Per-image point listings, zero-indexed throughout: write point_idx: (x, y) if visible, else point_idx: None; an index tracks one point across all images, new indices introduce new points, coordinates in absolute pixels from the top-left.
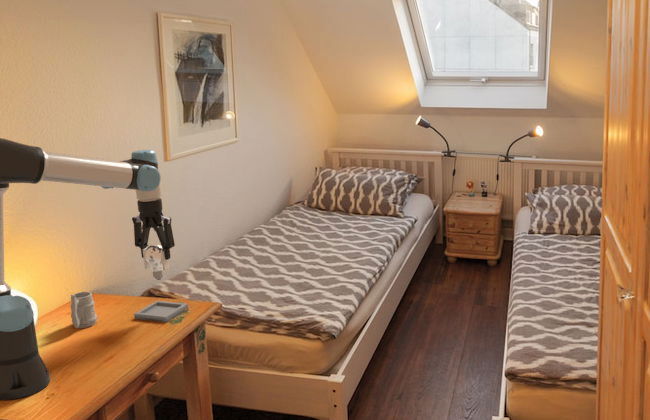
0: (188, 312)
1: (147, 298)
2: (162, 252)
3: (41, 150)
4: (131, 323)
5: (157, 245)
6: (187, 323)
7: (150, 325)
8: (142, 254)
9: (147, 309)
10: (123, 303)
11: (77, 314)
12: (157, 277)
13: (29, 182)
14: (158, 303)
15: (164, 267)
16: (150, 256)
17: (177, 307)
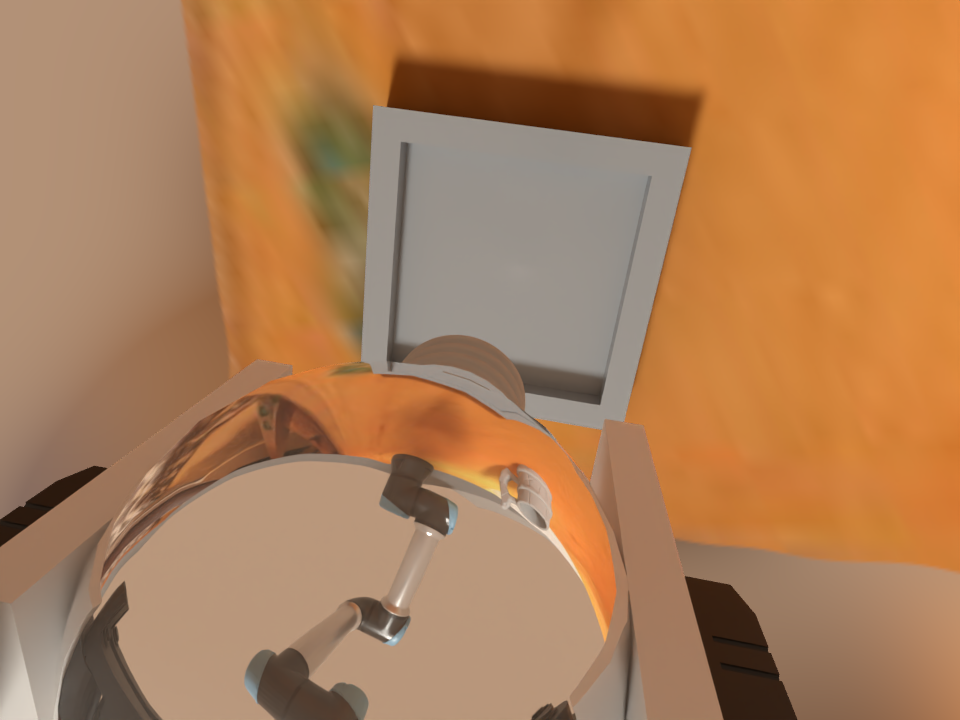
0: (337, 313)
1: (752, 534)
2: (13, 553)
3: None
4: (668, 42)
5: None
6: (230, 112)
7: (484, 24)
8: (741, 652)
9: (626, 278)
10: (912, 444)
11: None
12: (438, 338)
13: None
14: (593, 399)
15: (240, 377)
16: (334, 402)
17: None
